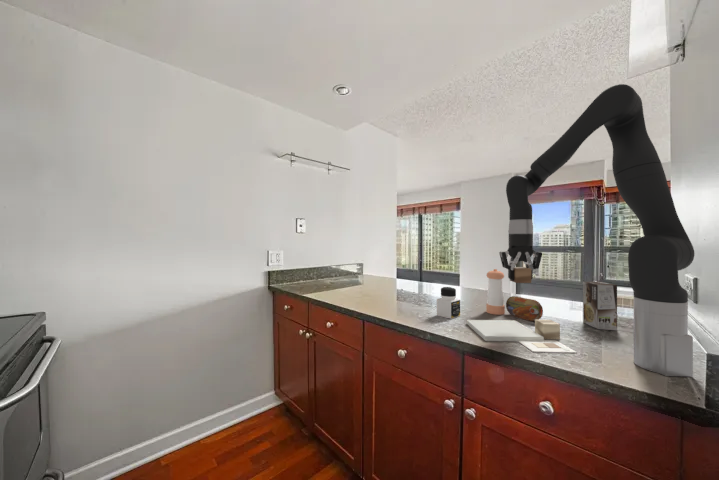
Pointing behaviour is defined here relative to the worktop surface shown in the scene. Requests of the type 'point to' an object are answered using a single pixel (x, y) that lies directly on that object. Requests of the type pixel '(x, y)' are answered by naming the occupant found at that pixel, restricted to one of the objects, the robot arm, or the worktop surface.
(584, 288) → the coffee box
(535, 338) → the base plate
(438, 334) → the worktop surface
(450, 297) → the medicine bottle
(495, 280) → the pepper shaker
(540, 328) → the birch block
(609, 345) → the worktop surface
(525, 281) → the walnut block
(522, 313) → the tin
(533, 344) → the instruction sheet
